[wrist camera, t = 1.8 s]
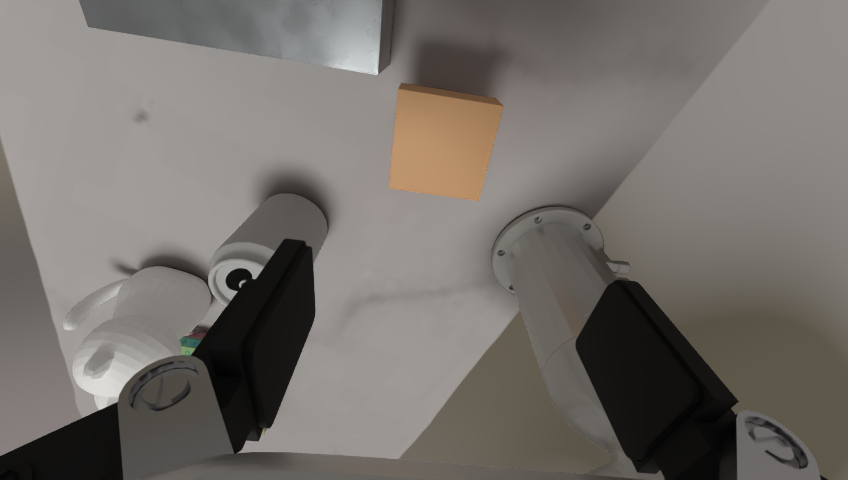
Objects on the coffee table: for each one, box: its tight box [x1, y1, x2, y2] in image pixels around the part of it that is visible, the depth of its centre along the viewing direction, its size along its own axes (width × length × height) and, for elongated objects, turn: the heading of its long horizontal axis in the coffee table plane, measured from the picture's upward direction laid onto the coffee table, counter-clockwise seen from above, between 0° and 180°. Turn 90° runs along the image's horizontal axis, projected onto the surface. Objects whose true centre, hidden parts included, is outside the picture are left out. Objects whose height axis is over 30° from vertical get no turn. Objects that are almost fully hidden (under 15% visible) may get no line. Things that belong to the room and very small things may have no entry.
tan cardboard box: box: [389, 83, 503, 201], centre depth 27 cm, size 7×7×9 cm
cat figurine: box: [63, 266, 211, 410], centre depth 36 cm, size 9×12×15 cm
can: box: [208, 193, 328, 307], centre depth 32 cm, size 8×8×12 cm
